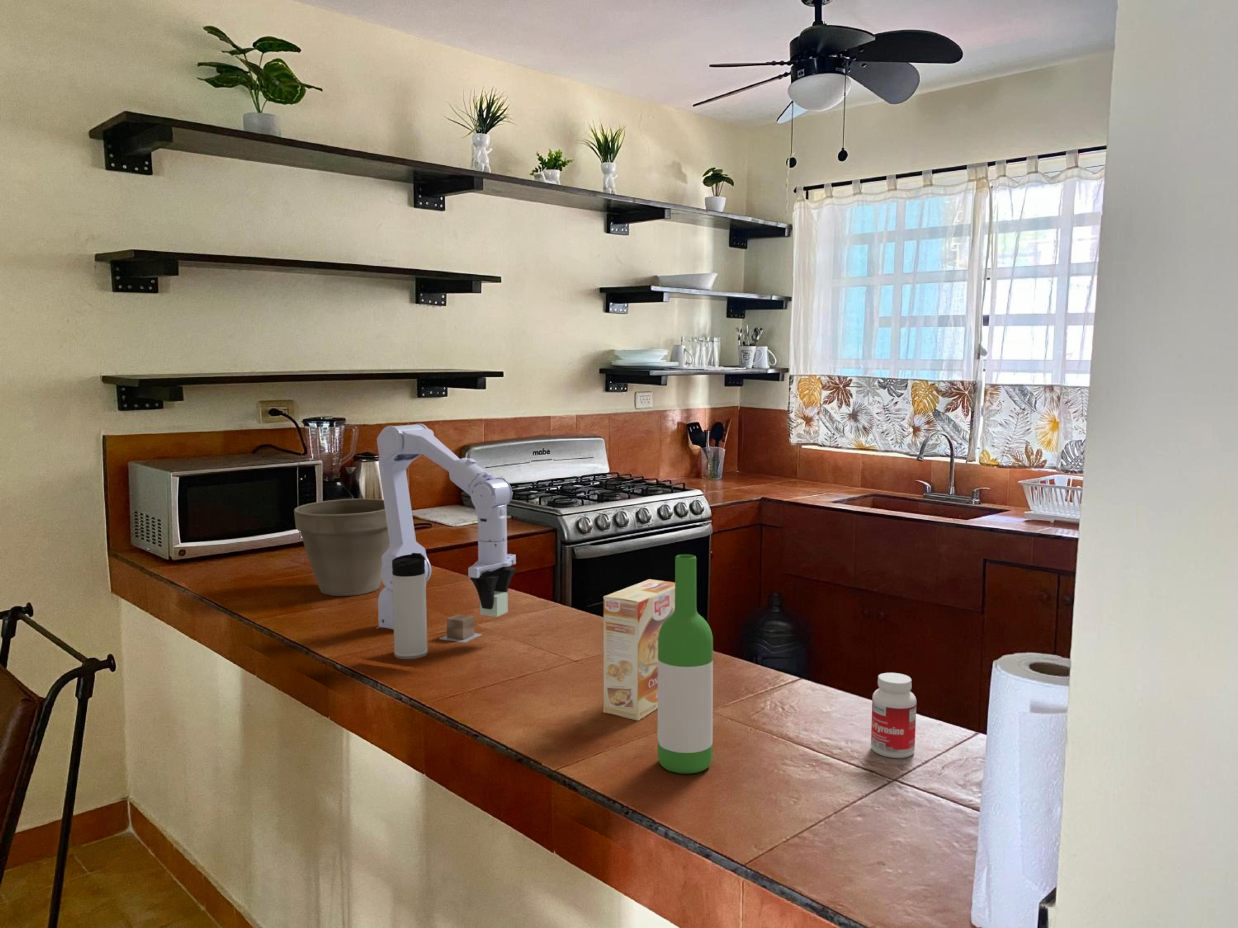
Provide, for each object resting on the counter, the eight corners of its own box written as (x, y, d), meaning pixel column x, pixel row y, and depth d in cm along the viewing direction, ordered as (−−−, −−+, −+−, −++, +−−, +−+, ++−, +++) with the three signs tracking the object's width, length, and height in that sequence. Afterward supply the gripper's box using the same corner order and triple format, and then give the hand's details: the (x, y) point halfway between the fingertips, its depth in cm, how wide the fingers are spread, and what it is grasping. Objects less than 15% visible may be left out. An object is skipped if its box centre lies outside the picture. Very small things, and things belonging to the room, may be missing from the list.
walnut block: (447, 637, 192) (446, 618, 192) (458, 632, 196) (457, 614, 196) (463, 640, 191) (462, 620, 190) (474, 634, 194) (473, 616, 194)
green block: (480, 614, 187) (479, 594, 187) (491, 609, 191) (490, 590, 191) (497, 616, 186) (496, 596, 185) (507, 611, 189) (507, 592, 189)
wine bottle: (708, 752, 136) (710, 550, 133) (716, 775, 129) (717, 561, 126) (655, 753, 136) (655, 550, 133) (659, 776, 128) (659, 562, 125)
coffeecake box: (639, 721, 149) (638, 601, 147) (601, 712, 152) (600, 595, 150) (683, 693, 161) (683, 582, 159) (647, 686, 165) (647, 577, 163)
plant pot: (322, 607, 220) (319, 516, 218) (281, 589, 238) (278, 504, 236) (417, 590, 236) (415, 505, 234) (372, 574, 255) (369, 495, 253)
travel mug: (434, 653, 184) (431, 553, 182) (416, 663, 178) (413, 560, 176) (406, 650, 186) (403, 551, 184) (388, 660, 180) (385, 558, 178)
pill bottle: (863, 751, 137) (865, 678, 135) (881, 738, 141) (883, 667, 140) (904, 763, 133) (906, 687, 131) (921, 749, 137) (923, 676, 136)
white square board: (419, 643, 191) (419, 640, 191) (453, 628, 201) (453, 625, 201) (468, 651, 186) (468, 647, 186) (501, 635, 196) (500, 632, 196)
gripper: (489, 547, 179) (490, 616, 180) (528, 534, 192) (528, 599, 193) (458, 544, 182) (460, 612, 183) (498, 532, 195) (499, 596, 196)
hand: (493, 605), depth 188 cm, fingers closed on green block, 4 cm apart
